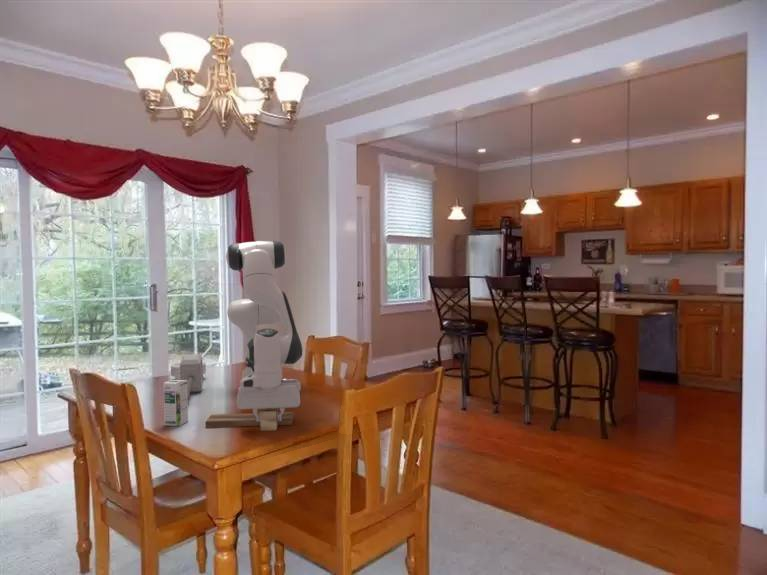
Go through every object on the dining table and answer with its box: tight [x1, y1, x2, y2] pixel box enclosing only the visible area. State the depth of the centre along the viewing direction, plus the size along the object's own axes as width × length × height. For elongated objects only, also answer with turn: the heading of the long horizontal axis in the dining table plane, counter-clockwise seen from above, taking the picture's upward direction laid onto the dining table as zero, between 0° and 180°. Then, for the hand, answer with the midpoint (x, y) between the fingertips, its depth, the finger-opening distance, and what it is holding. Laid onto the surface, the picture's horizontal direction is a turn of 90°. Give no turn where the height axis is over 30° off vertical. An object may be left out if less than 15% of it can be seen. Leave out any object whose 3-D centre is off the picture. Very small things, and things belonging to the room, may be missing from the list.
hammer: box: [179, 353, 204, 401], centre depth 208 cm, size 15×8×30 cm
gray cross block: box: [170, 361, 207, 380], centre depth 241 cm, size 15×15×8 cm
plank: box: [205, 411, 295, 429], centre depth 176 cm, size 8×28×2 cm, turn 95°
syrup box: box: [162, 379, 189, 427], centre depth 176 cm, size 6×6×14 cm
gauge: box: [259, 408, 279, 431], centre depth 174 cm, size 12×5×7 cm, turn 6°
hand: (269, 421), depth 170 cm, fingers closed on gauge, 5 cm apart
